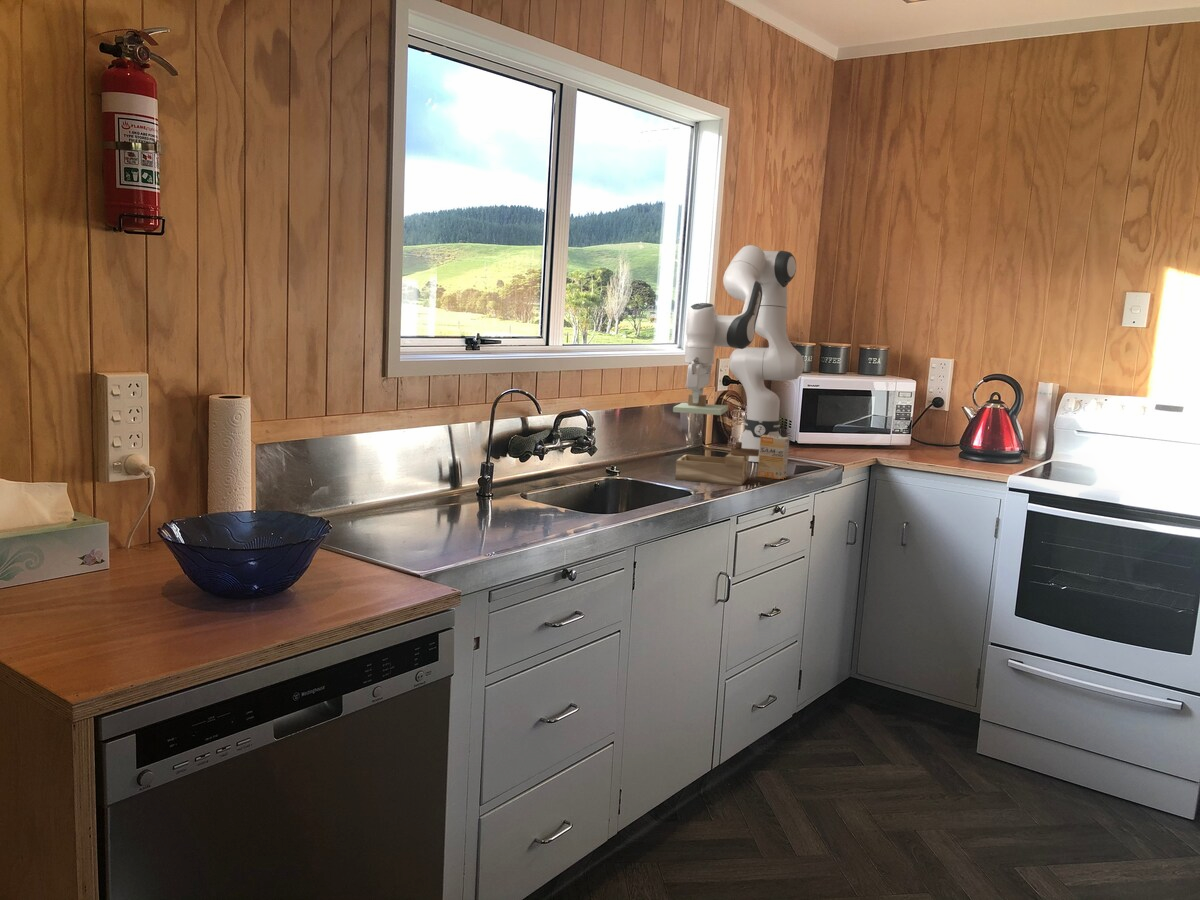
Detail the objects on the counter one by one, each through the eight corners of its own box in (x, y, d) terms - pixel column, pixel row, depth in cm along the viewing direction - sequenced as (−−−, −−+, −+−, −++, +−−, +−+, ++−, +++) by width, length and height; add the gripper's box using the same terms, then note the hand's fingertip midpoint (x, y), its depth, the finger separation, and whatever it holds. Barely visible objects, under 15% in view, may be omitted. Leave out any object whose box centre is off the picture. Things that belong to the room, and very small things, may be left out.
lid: (682, 407, 301) (682, 392, 300) (727, 410, 297) (728, 395, 297) (672, 411, 288) (673, 396, 287) (720, 415, 284) (721, 399, 283)
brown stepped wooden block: (732, 453, 290) (732, 441, 290) (758, 455, 288) (759, 443, 287) (730, 454, 288) (731, 442, 287) (757, 456, 286) (758, 444, 285)
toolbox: (684, 472, 304) (685, 446, 302) (747, 478, 298) (749, 451, 297) (675, 480, 290) (676, 452, 289) (741, 485, 285) (742, 457, 284)
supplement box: (757, 477, 301) (759, 435, 299) (761, 475, 305) (764, 434, 303) (782, 480, 297) (785, 438, 295) (787, 478, 301) (789, 436, 299)
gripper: (703, 359, 281) (701, 406, 283) (715, 356, 301) (712, 400, 303) (682, 358, 283) (680, 404, 285) (695, 355, 302) (693, 399, 305)
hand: (697, 402), depth 294 cm, fingers closed on lid, 3 cm apart
